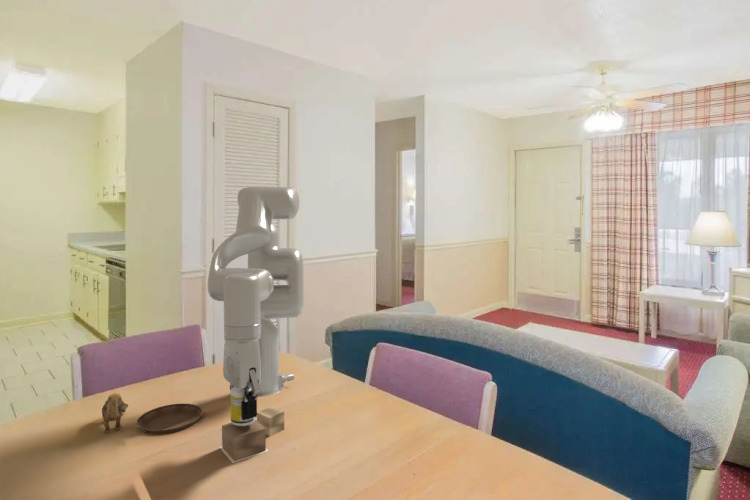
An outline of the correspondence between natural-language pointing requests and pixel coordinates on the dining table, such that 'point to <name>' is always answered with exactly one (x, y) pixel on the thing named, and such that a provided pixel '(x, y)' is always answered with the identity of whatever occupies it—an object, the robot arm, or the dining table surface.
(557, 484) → the dining table surface
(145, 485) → the dining table surface
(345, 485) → the dining table surface
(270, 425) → the oak cube
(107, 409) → the lion figurine
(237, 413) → the supplement bottle
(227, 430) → the walnut block
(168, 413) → the saucer
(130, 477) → the dining table surface
